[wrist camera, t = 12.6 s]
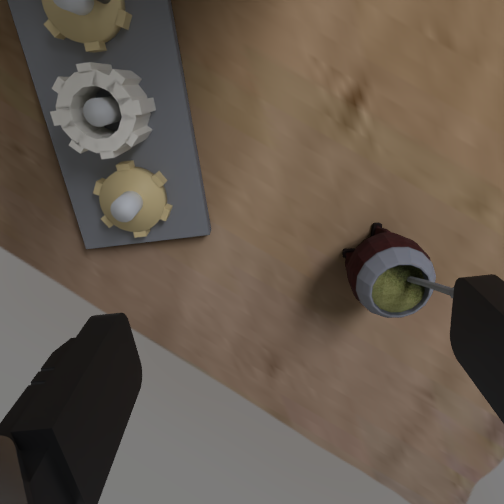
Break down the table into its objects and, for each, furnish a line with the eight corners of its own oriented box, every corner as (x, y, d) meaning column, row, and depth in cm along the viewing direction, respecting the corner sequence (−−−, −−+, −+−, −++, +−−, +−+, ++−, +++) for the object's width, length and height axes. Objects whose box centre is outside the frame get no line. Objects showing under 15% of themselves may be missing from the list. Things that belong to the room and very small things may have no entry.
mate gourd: (336, 283, 41) (377, 386, 27) (341, 210, 38) (391, 284, 24) (408, 282, 41) (486, 384, 27) (419, 209, 38) (515, 282, 24)
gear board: (1, -50, 30) (-50, -76, 25) (157, -75, 29) (137, -107, 24) (92, 243, 39) (68, 267, 34) (211, 229, 39) (204, 251, 34)
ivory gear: (65, 70, 32) (37, 69, 28) (145, 59, 31) (129, 56, 27) (88, 153, 34) (65, 163, 30) (163, 144, 34) (150, 153, 30)
